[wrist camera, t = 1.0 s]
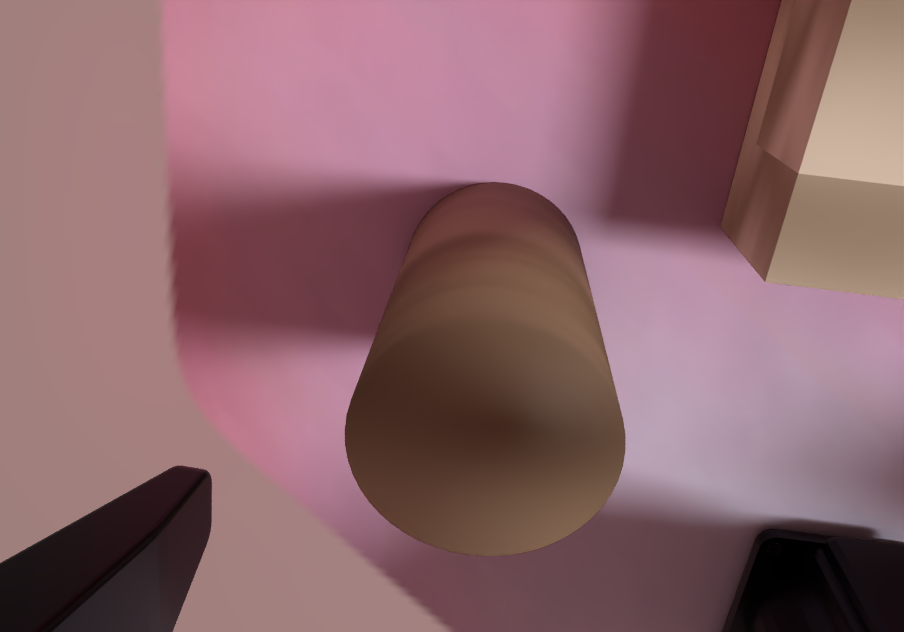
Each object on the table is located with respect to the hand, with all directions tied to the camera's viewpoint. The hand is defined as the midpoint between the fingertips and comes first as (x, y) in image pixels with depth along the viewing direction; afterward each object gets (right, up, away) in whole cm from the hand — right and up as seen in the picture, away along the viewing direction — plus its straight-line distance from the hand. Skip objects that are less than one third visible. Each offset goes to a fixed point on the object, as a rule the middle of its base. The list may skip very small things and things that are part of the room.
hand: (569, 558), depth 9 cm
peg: (0, +4, +12) cm, 13 cm away
